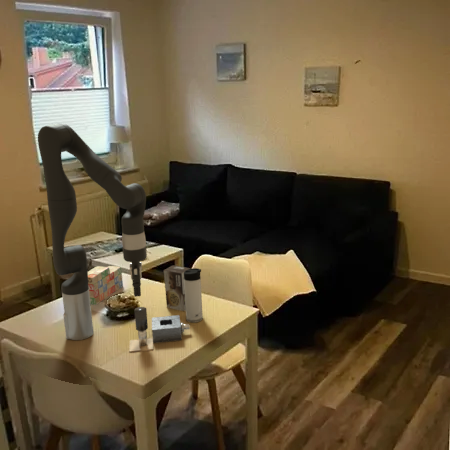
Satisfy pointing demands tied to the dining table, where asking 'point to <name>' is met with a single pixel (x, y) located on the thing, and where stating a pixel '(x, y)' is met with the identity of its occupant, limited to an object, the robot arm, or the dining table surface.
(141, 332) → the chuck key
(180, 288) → the coffee box
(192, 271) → the travel mug
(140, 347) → the cork mat
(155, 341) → the block
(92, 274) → the stack of blocks
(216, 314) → the dining table surface
